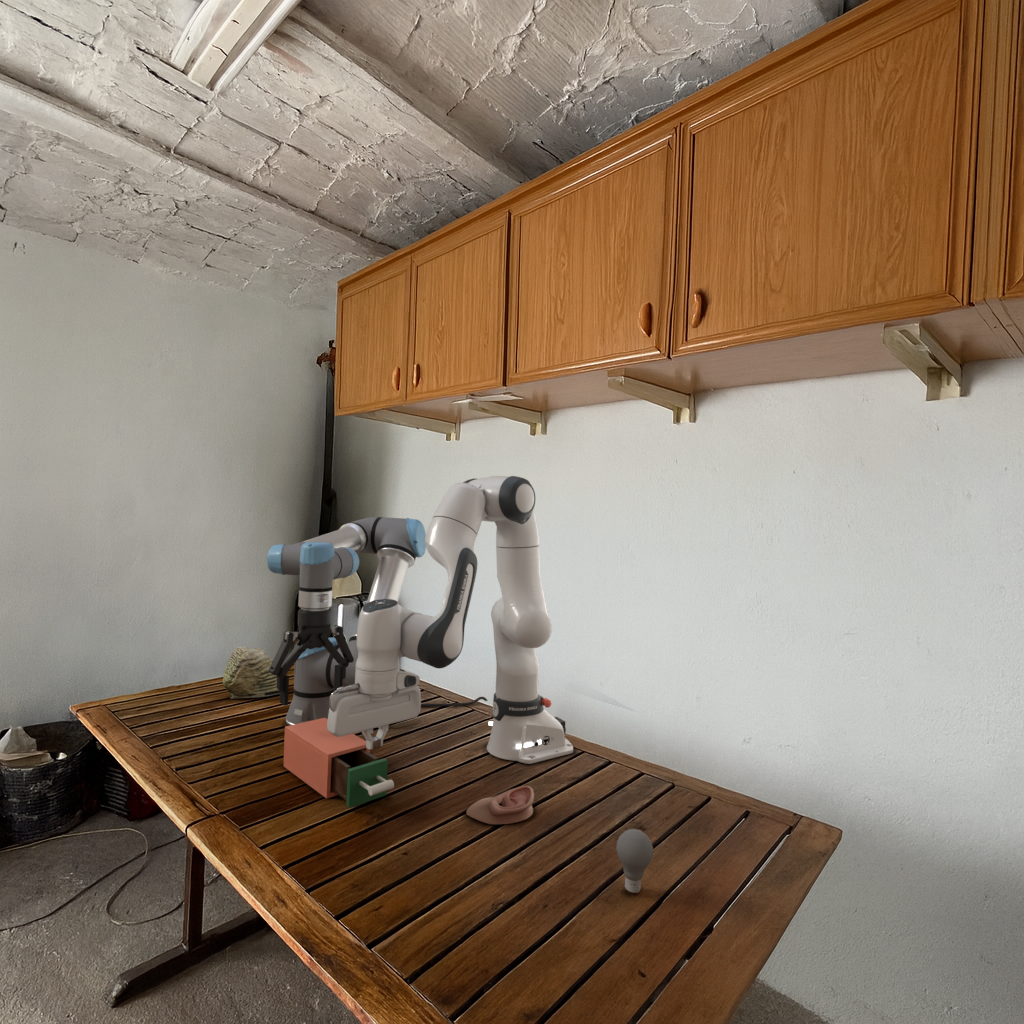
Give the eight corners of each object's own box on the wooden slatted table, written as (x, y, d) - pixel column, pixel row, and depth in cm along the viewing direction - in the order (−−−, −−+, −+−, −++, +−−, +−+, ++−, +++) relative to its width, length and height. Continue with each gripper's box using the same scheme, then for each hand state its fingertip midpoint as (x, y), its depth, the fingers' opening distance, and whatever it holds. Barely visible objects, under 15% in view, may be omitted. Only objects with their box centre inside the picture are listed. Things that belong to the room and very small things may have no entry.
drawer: (401, 804, 130) (402, 768, 130) (363, 818, 124) (364, 780, 124) (339, 764, 148) (341, 732, 148) (304, 775, 142) (305, 741, 141)
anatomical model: (462, 800, 126) (477, 776, 137) (461, 820, 126) (476, 794, 137) (528, 810, 123) (537, 784, 135) (527, 830, 123) (536, 803, 135)
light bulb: (610, 879, 108) (613, 822, 108) (644, 879, 109) (647, 822, 109) (619, 902, 102) (622, 840, 102) (655, 901, 103) (658, 840, 103)
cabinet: (368, 785, 140) (369, 743, 140) (326, 798, 133) (328, 754, 133) (323, 755, 155) (324, 717, 155) (283, 766, 148) (284, 726, 148)
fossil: (218, 695, 195) (220, 647, 195) (278, 685, 208) (279, 640, 207) (228, 703, 189) (230, 653, 188) (289, 692, 201) (290, 645, 201)
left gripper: (269, 615, 137) (266, 713, 137) (370, 606, 155) (366, 692, 155) (255, 610, 142) (252, 704, 143) (354, 601, 160) (350, 685, 160)
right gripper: (338, 693, 120) (335, 765, 120) (426, 675, 134) (423, 740, 134) (322, 685, 124) (319, 755, 124) (408, 669, 138) (406, 731, 139)
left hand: (311, 698), depth 149 cm, fingers open, 13 cm apart
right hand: (374, 747), depth 129 cm, fingers closed
